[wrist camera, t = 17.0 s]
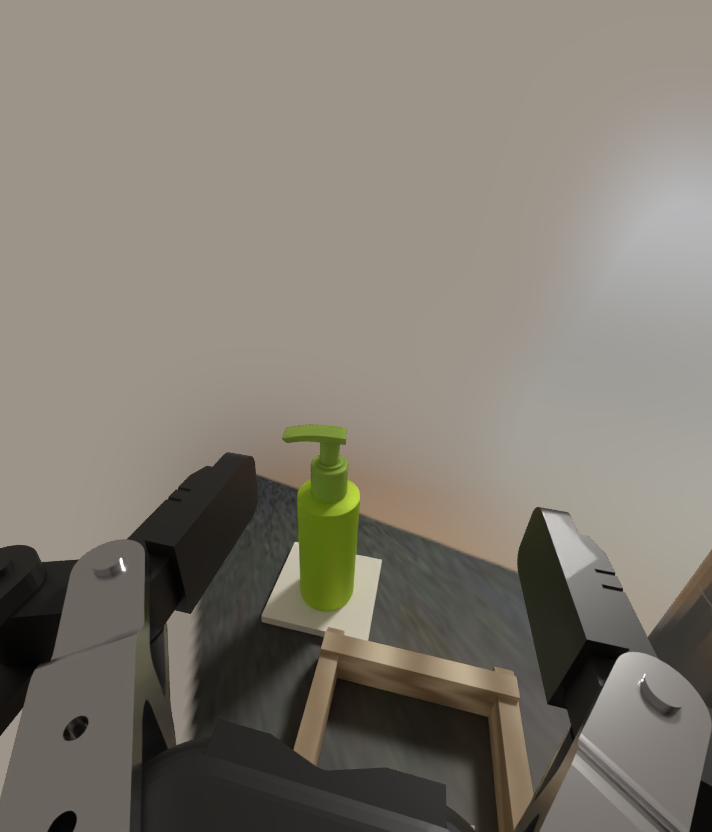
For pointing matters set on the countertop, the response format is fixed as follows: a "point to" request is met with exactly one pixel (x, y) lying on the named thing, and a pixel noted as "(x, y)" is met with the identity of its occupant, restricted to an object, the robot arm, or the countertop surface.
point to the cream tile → (298, 615)
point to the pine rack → (433, 684)
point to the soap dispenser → (326, 520)
